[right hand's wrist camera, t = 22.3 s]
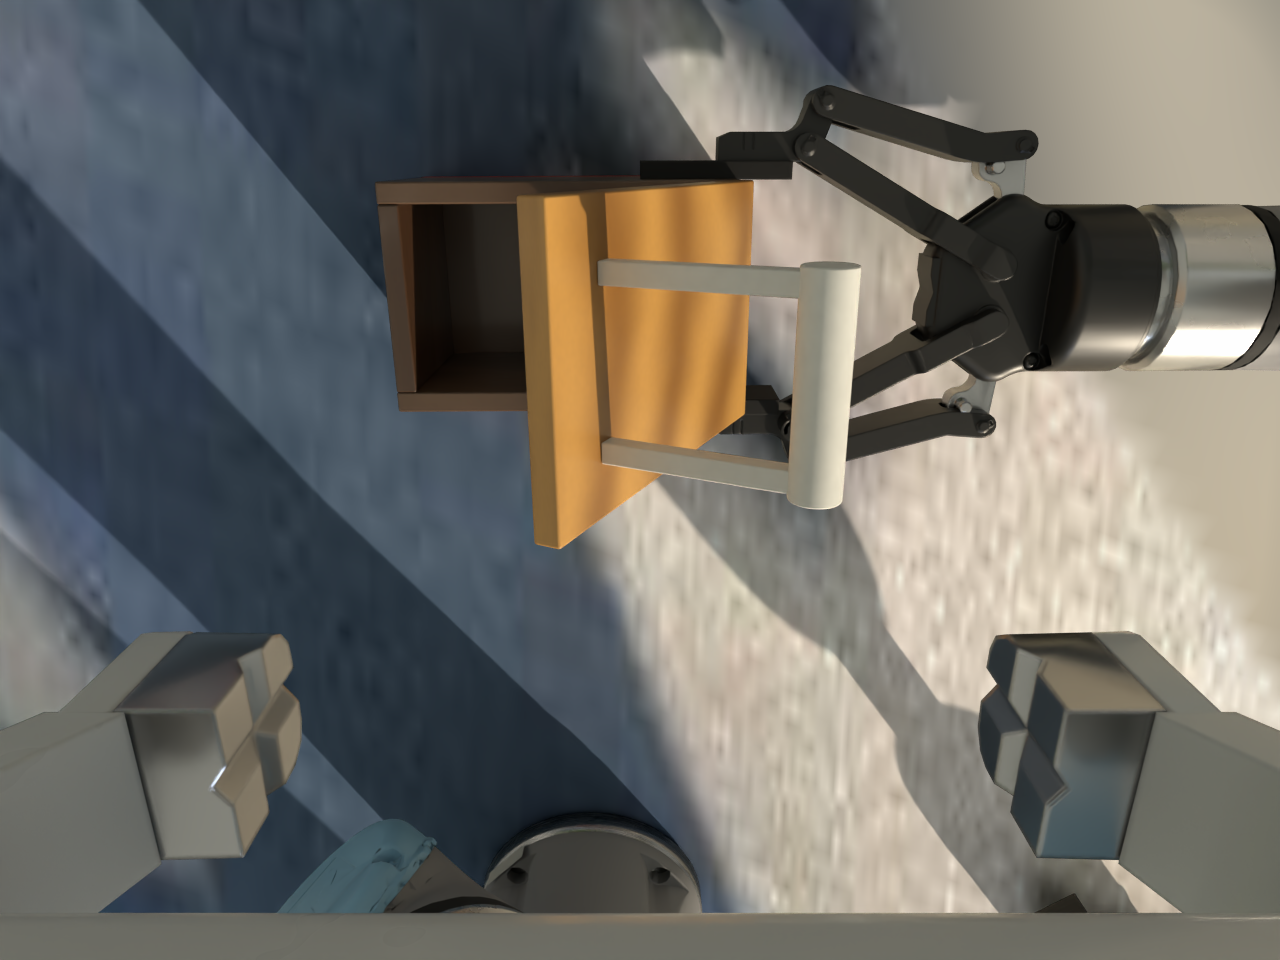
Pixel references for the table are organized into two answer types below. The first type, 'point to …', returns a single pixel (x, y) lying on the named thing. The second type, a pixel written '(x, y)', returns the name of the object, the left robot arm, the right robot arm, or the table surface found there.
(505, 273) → the chest
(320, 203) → the table surface
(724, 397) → the lid
